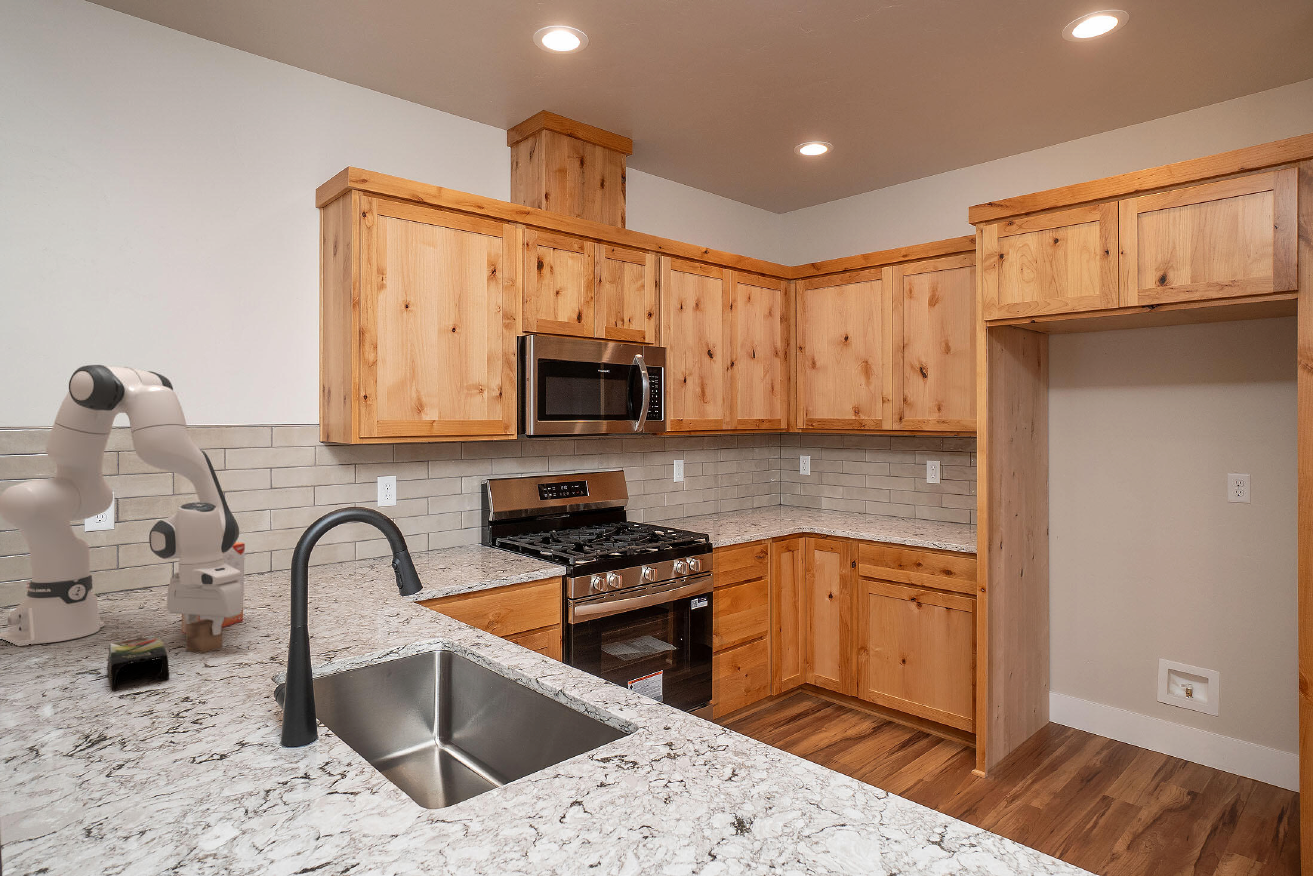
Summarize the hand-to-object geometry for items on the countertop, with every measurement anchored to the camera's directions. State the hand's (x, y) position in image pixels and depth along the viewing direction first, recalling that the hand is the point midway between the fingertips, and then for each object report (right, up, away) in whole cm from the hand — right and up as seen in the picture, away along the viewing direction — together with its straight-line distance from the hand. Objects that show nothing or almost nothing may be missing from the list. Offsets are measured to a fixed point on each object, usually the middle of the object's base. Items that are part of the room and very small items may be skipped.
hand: (205, 633), depth 165 cm
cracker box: (-9, -4, +18) cm, 21 cm away
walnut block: (0, -3, 0) cm, 3 cm away
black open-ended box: (-4, -4, -16) cm, 17 cm away
